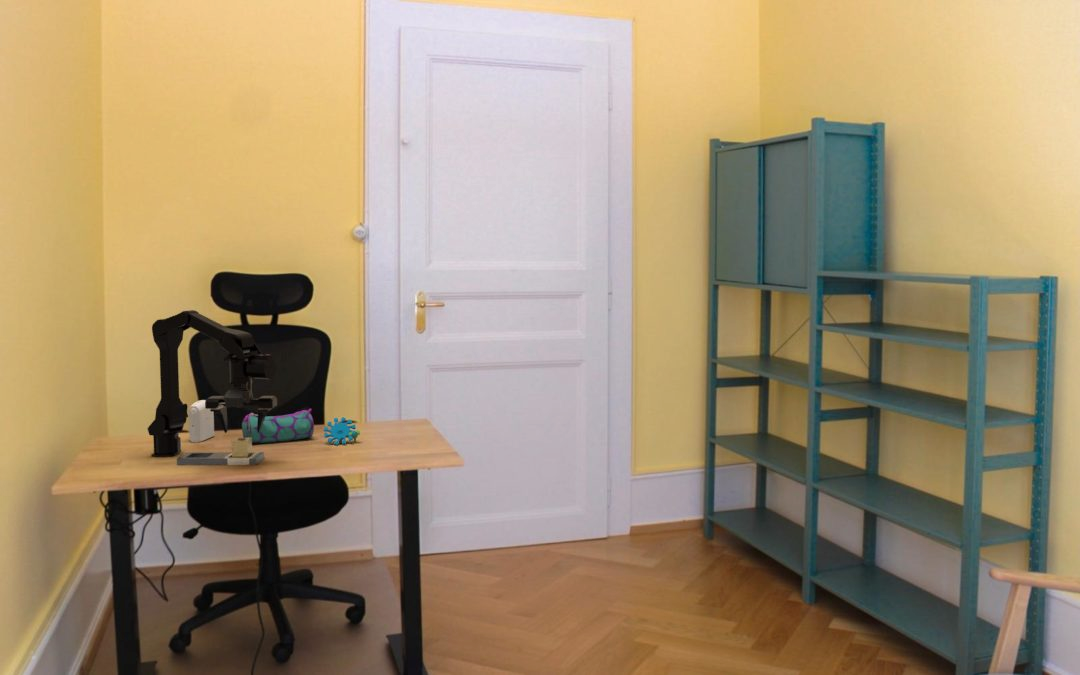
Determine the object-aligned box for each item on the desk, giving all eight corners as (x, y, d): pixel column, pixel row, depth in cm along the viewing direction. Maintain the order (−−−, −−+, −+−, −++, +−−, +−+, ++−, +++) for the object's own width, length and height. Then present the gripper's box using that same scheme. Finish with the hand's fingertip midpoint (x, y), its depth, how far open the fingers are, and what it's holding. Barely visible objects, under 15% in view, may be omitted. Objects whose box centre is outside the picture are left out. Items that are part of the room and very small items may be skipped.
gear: (319, 440, 292) (327, 413, 299) (321, 450, 297) (329, 424, 303) (355, 445, 292) (362, 418, 299) (356, 456, 297) (363, 429, 303)
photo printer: (200, 442, 297) (199, 403, 296) (187, 442, 297) (186, 403, 296) (216, 436, 307) (215, 398, 306) (203, 436, 307) (202, 397, 306)
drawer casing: (176, 464, 266) (176, 457, 266) (187, 458, 274) (186, 451, 274) (256, 464, 267) (256, 457, 266) (264, 458, 275) (264, 451, 274)
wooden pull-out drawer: (232, 463, 268) (231, 439, 268) (236, 460, 273) (236, 436, 272) (247, 463, 268) (247, 439, 268) (252, 460, 273) (251, 436, 272)
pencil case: (247, 447, 291) (246, 415, 290) (241, 441, 299) (241, 411, 298) (315, 440, 301) (314, 410, 300) (308, 436, 308) (307, 406, 308)
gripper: (197, 381, 260) (199, 438, 262) (266, 381, 260) (268, 438, 262) (210, 376, 271) (212, 430, 273) (277, 376, 272) (278, 430, 273)
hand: (242, 432), depth 270 cm, fingers open, 9 cm apart
